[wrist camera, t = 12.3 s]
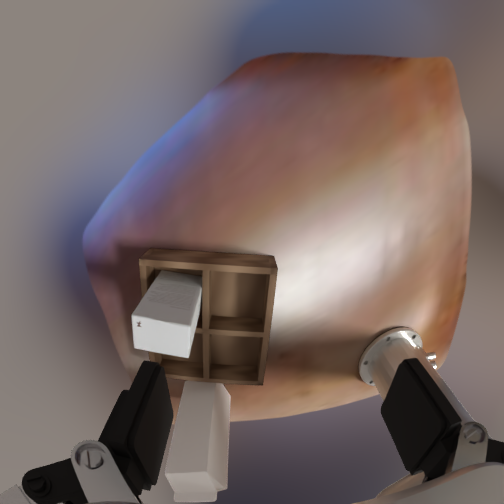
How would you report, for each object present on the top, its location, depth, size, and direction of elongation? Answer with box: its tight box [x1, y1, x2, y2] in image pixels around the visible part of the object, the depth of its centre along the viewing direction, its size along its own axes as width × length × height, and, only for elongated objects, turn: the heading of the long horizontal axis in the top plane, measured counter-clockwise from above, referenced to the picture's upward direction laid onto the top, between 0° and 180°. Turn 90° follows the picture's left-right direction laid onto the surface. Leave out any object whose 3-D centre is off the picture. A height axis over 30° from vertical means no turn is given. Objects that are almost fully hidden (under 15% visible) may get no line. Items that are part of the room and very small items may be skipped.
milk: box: [165, 380, 231, 502], centre depth 33 cm, size 6×6×22 cm
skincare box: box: [131, 270, 202, 358], centre depth 31 cm, size 6×4×12 cm
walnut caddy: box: [139, 248, 278, 385], centre depth 37 cm, size 16×18×4 cm
